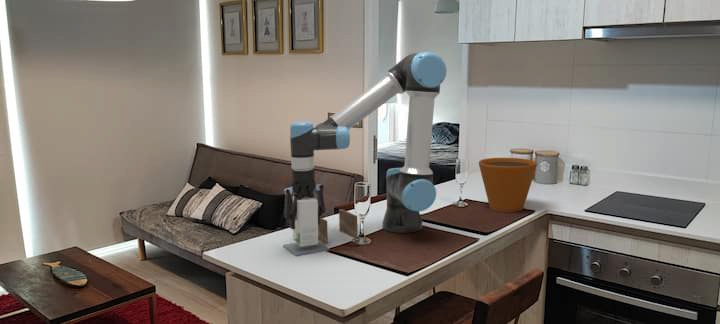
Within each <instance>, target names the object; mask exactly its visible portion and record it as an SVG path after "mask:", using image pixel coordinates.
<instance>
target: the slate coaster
mask: <svg viewBox="0 0 720 324" xmlns="http://www.w3.org/2000/svg"><path fill="white" fill-rule="evenodd" d="M282 247H283V248H284V249H286V250H287V251H289V253H291V254H292V255H294V256H295V257H299V256H300V257H301V256H304V255H311V254H316V253H320V252H321V253H322V252H326V251H331V249H330V247H328V246H327V245H325V243H323V242H321V241H320V240H318V244H317V245H310V246H304V247H300V246H299V245H298V244H297V243H296V242H291V243H286V244H282Z"/></svg>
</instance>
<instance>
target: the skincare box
mask: <svg viewBox="0 0 720 324" xmlns="http://www.w3.org/2000/svg"><path fill="white" fill-rule="evenodd" d="M293 201H294V195H293V196H292V202H293ZM318 209H319V206H318V199H317V198H315V197H314V198H310V197H307V196H305V197H302V198H301V199H300V200H297V214H296V217H295V219H297V221H298V239H295V238H294V237H293V241H294V243H297V244H298V245H299V246H300V247H304V246H310V245H317V244H318V241H319V240H318Z"/></svg>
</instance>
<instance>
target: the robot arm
mask: <svg viewBox="0 0 720 324" xmlns="http://www.w3.org/2000/svg"><path fill="white" fill-rule="evenodd" d="M446 77H447V66H446V63H445V61H444V59H443V58H442V57H441V56H440V55H439V54H437V53H434V52H429V51H421V52H416V53H411V54H408V55H406V56H405V57H404V58H402V59H400V61H398V63H395V65H393V66H392V67H391V68H390V69H388V70H387V71H386V72H385V76H383V78H381V79H380V80H379V81H377V82H376V83H374V85H371V86H370V87H369V88H367V89H366V90H365V91H364V92H362V93H361V94H360V95H358V96H357V97H356V98H354V99H353V100H351V101H350V102H349V103H348V104H346V105H345V106H344V107H341V109H339V110H338V111H337V112H335V113H334V114H333V115H332V116H330V117H329V118H327V119H326V120H324V121H323V122H320V123H319V122H318V124H316V125H315V126H314V124H313V122H312V121H296V122H292V123H291V124H290V126H289V127H290V128H289V129H290V130H289V131H290V132H289V139H290V140H289V141H290V142H289V143H290V161H291V162H290V163H291V169H292V170H291V181H292V182H291V186H290V187H288V188H285V187H284V188H283V193H284V207H283V208H284V210H283V217H284V218H285V219H287V220H289V228H290V229H291V230H292V238H293V239H294V238H295V239H298V221H297V219H295V217H296V214H297V200H300V199H301V198H302V197H305V196H307V197H310V198H315V194H314V191H315V190H316V197H317V198H316V199H317V200H318V225H320V217H321V216H322V215H323V214H325V213H326V206H325V199H324V187H325V186H324V184H321V183H316V181H315V180H316V175H315V169H314V168H315V151H326V150H328V151H329V150H331V151H332V150H346V149H348V148H349V147H350V143H351V137H350V136H351V135H350V131H349V130H350V129H352V128H353V127H354V126H355V125H357V124H358V123H360V122H361V121H363V120H364V119H365V118H367V117H368V116H369V115H370V114H372V113H373V112H375V111H376V110H378V108H380V107H382V106H383V105H384V104H386V103H387V102H388V101H390V100H391V99H392V98H394V97H395V96H396V95H397V94H399V95H402V94H404V93H407V95H408V96H409V99H408V100H409V102H408V113H407V129H406V143H405V154H404V155H405V156H404V166H402V167H393V168H388V169H387V171H386V175H385V179H386V210H385V213H384V216H383V220H382V230H384V231H387V232H391V233H399V234H406V233H414V232H415V233H416V232H419V231H421V230H422V229H423V226H424V225H423V220H422V217H421V214H420V212H424V211H426V210H427V209H429V208H430V207H431V206H432V205H433V204H434V203H435V200H436V198H437V189H436V186H435V185H434V183H433V181H434V180H433V179H434V172H433V170H432V169H431V168H430V162H431V161H430V160H431V149H432V148H431V147H432V138H433V137H432V136H433V123H434V112H435V110H434V109H435V99H436V98H437V97H438V96H439V95H440V92H441V85H442V84H443V82H444V81H445V80H446V79H445V78H446ZM293 192H294V194H293ZM292 194H293V196H294V201H293V200H292ZM291 203H292V204H291Z"/></svg>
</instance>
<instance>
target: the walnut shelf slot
mask: <svg viewBox="0 0 720 324" xmlns="http://www.w3.org/2000/svg"><path fill="white" fill-rule="evenodd" d="M338 221H339V222H338V224H339V225H338V226H339V231H340V232H342V233H344V234H346V235H348V236H350V237H352V238H353V239H357V238H356V237H359V236H358V234H359V233H358V230H359V229H358V215H356V214H354V213H351V212H350V211H347V210H345V209H342V208H339V209H338ZM328 230H329V229H328V220H326V219H325V218H323V217H321V216H320V225H318V241H319V242H320V243H322V244H324V245H325V244H329V235H328Z"/></svg>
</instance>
